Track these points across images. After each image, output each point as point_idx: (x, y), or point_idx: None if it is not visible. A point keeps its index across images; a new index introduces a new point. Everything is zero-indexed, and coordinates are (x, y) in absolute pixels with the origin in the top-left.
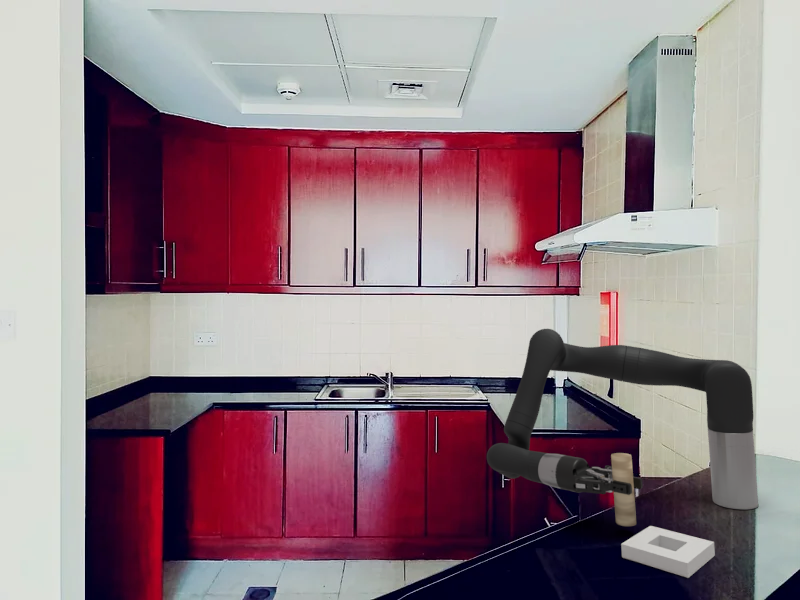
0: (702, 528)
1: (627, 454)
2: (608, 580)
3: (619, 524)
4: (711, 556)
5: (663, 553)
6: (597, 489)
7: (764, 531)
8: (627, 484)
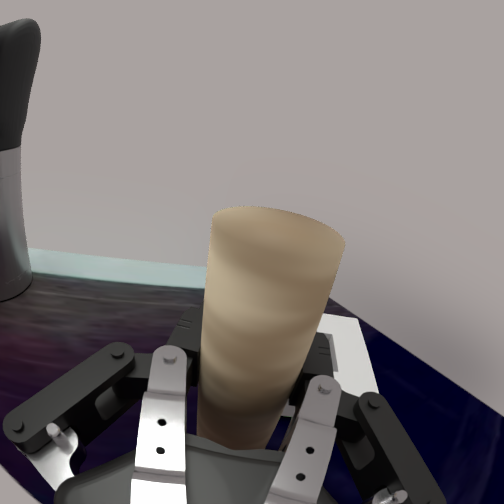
0: (117, 330)
1: (238, 212)
2: (439, 400)
3: None
4: None
5: (355, 344)
6: (351, 455)
7: (113, 274)
8: None
